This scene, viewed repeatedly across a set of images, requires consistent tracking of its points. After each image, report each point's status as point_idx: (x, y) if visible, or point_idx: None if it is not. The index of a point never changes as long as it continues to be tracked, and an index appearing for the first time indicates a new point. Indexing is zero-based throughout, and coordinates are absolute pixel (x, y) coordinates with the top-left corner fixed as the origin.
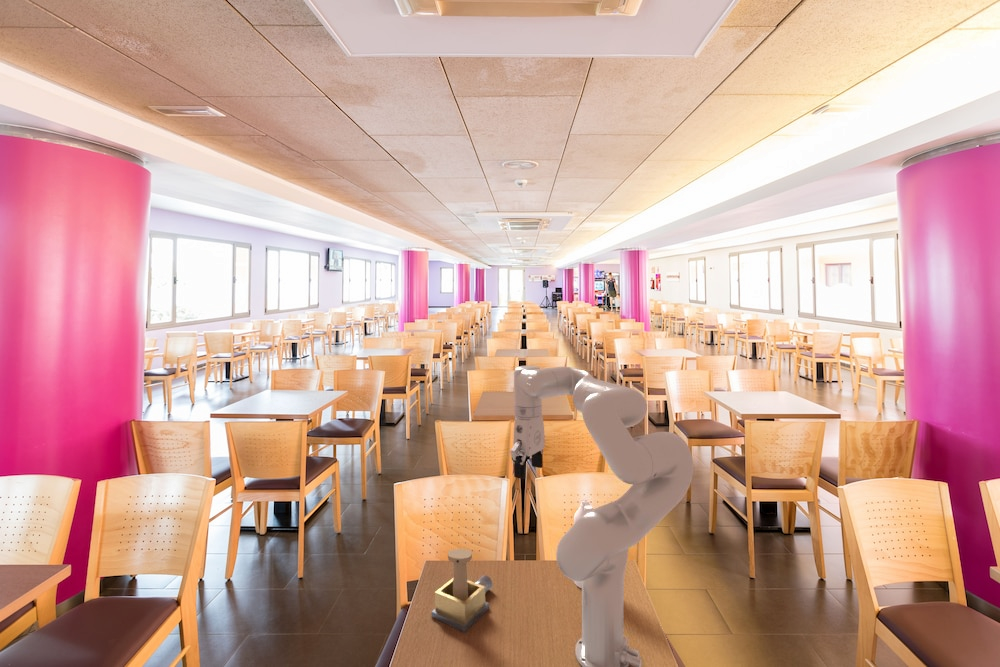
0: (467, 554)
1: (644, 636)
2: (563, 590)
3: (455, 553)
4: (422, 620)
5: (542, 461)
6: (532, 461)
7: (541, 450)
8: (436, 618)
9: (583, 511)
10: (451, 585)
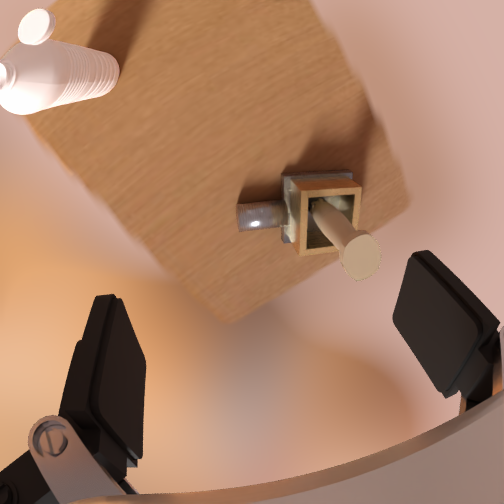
0: (359, 244)
1: None
2: (146, 92)
3: (365, 265)
4: None
5: (85, 335)
6: (141, 391)
7: (68, 457)
8: None
9: (30, 65)
10: (318, 244)
